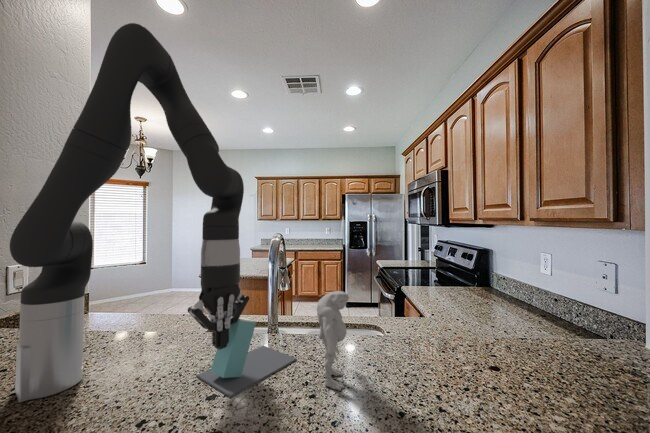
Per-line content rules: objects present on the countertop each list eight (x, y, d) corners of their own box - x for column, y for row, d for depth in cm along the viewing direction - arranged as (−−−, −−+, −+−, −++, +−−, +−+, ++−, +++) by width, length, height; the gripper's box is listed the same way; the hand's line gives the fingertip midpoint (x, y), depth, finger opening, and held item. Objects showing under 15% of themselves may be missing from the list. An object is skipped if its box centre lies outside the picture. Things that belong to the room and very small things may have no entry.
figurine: (354, 409, 48) (354, 304, 48) (316, 409, 47) (315, 304, 48) (346, 359, 65) (345, 283, 66) (317, 359, 65) (317, 283, 66)
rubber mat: (230, 397, 51) (230, 395, 51) (196, 376, 58) (196, 375, 58) (296, 360, 65) (296, 358, 65) (263, 347, 72) (263, 345, 72)
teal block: (223, 377, 54) (240, 319, 58) (210, 370, 57) (227, 315, 60) (241, 376, 57) (256, 321, 61) (228, 370, 60) (243, 317, 64)
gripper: (237, 257, 64) (237, 333, 63) (179, 263, 53) (178, 354, 53) (258, 259, 59) (258, 341, 59) (199, 267, 49) (198, 366, 48)
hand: (220, 347), depth 56 cm, fingers closed
